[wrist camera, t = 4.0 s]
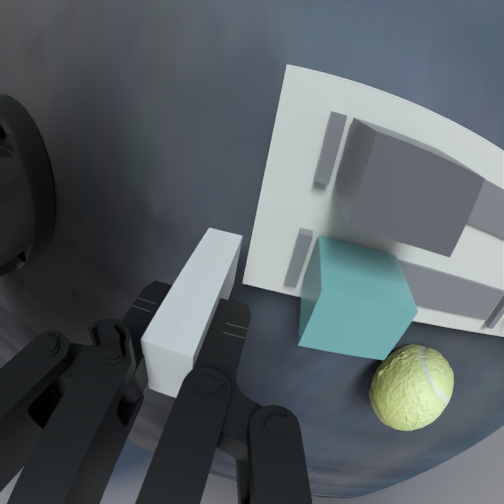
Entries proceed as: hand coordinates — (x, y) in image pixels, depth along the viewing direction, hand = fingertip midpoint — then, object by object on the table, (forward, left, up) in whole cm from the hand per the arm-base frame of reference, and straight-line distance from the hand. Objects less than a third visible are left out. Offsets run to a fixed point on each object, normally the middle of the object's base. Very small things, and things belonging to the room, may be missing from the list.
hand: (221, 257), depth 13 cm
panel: (+16, +3, -4) cm, 17 cm away
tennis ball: (+15, -8, -4) cm, 17 cm away
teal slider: (+6, 0, -1) cm, 6 cm away
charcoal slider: (+6, +6, -1) cm, 8 cm away
